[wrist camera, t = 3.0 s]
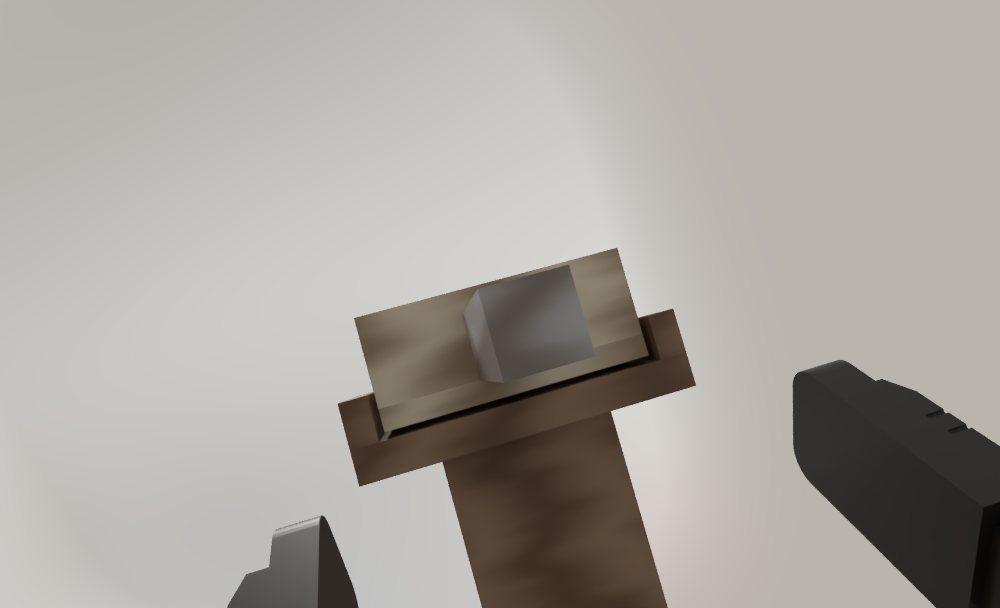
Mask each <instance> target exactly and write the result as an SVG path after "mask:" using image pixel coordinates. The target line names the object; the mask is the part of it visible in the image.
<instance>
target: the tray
mask: <svg viewBox="0 0 1000 608" xmlns="http://www.w3.org/2000/svg"><path fill="white" fill-rule="evenodd" d="M354 319H355V323H356V327H357V331H358V334H359V338H360V342H361V346H362V350H363V353H364V357H365V361H366V364H367V368H368V372H369V375H370V380H371V383H372V387H373V391H374V395H375V398H376V402H377V406H378V410H379V413H380V417H381V421H382V425H383V428H384V432H387V431H391V430H394V429H398V428H401V427H405V426H408V425H412V424H415V423H418V422H422V421H425V420H429V419H432V418H436V417H439V416H442V415H446V414H449V413H453V412H456V411H460V410H463V409H466V408H470V407H473V406H477V405H480V404H484V403H487V402H490V401H494V400H497V399H501V398H504V397H508V396H511V395H515V394H518V393H521V392H525V391H528V390H532V389H535V388H539V387H542V386H545V385H549V384H552V383H556V382H559V381H563V380H566V379H569V378H573V377H576V376H580V375H583V374H587V373H590V372H594V371H597V370H600V369H604V368H607V367H611V366H614V365H618V364H621V363H624V362H628V361H631V360H635V359H638V358H642V357H645V356H648V355H649V354H648V351H647V347H646V344H645V341H644V337H643V334H642V331H641V327H640V324H639V320H638V317H637V314H636V311H635V307H634V303H633V300H632V297H631V293H630V290H629V287H628V283H627V280H626V277H625V273H624V270H623V266H622V263H621V260H620V256H619V253H618V249H617V248H615V249H611V250H607V251H604V252H600V253H596V254H593V255H589V256H585V257H582V258H578V259H574V260H570V261H566V262H563V263H559V264H555V265H552V266H548V267H544V268H540V269H536V270H533V271H529V272H525V273H521V274H518V275H514V276H510V277H507V278H503V279H499V280H496V281H492V282H488V283H484V284H480V285H477V286H473V287H469V288H466V289H462V290H458V291H454V292H450V293H447V294H443V295H439V296H435V297H432V298H428V299H424V300H421V301H417V302H413V303H409V304H406V305H402V306H398V307H394V308H391V309H387V310H383V311H379V312H376V313H372V314H368V315H364V316H361V317H357V318H354Z"/></svg>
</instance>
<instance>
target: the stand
mask: <svg viewBox="0 0 1000 608" xmlns="http://www.w3.org/2000/svg"><path fill="white" fill-rule="evenodd" d="M638 320H639V324H640V327H641V331H642V334H643V337H644V341H645V344H646V347H647V351H648V354H649V355H648V356H645V357H642V358H638V359H635V360H631V361H628V362H624V363H621V364H618V365H614V366H611V367H607V368H604V369H600V370H597V371H594V372H590V373H587V374H583V375H580V376H576V377H573V378H569V379H566V380H563V381H559V382H556V383H552V384H549V385H545V386H542V387H539V388H535V389H532V390H528V391H525V392H521V393H518V394H515V395H511V396H508V397H504V398H501V399H497V400H494V401H490V402H487V403H484V404H480V405H477V406H473V407H470V408H466V409H463V410H460V411H456V412H453V413H449V414H446V415H442V416H439V417H436V418H432V419H429V420H425V421H422V422H418V423H415V424H412V425H408V426H405V427H401V428H398V429H394V430H391V431H387V432H384V428H383V425H382V421H381V417H380V413H379V410H378V406H377V402H376V398H375V395H374V392H372V393H368V394H365V395H361V396H358V397H355V398H352V399H349V400H347V401H344V402H341V403H338V407H339V411H340V414H341V418H342V422H343V426H344V430H345V433H346V437H347V441H348V445H349V448H350V452H351V456H352V460H353V464H354V468H355V471H356V475H357V479H358V483H359V486H363V485H366V484H369V483H373V482H376V481H380V480H383V479H386V478H389V477H393V476H396V475H400V474H403V473H406V472H409V471H413V470H416V469H420V468H423V467H426V466H429V465H433V464H436V463H440V462H443V465H444V469H445V473H446V477H447V480H448V484H449V487H450V491H451V495H452V498H453V502H454V506H455V510H456V513H457V517H458V520H459V524H460V528H461V532H462V535H463V539H464V542H465V546H466V550H467V554H468V557H469V561H470V565H471V568H472V572H473V576H474V579H475V583H476V587H477V591H478V594H479V598H480V601H481V605H482V608H668V607H667V604H666V600H665V597H664V594H663V590H662V586H661V583H660V579H659V576H658V573H657V569H656V566H655V563H654V559H653V555H652V552H651V549H650V545H649V542H648V538H647V535H646V532H645V528H644V524H643V521H642V517H641V514H640V511H639V507H638V504H637V500H636V497H635V493H634V490H633V486H632V483H631V480H630V476H629V472H628V469H627V466H626V462H625V459H624V455H623V452H622V448H621V445H620V442H619V438H618V435H617V431H616V428H615V424H614V421H613V417H612V414H611V411H613V410H616V409H619V408H623V407H626V406H629V405H633V404H636V403H639V402H643V401H646V400H649V399H653V398H656V397H659V396H663V395H666V394H669V393H673V392H676V391H679V390H683V389H686V388H689V387H692V386H696V384H695V381H694V377H693V374H692V371H691V367H690V364H689V360H688V357H687V354H686V351H685V348H684V344H683V340H682V337H681V334H680V330H679V327H678V324H677V321H676V317H675V314H674V310H673V309H670V310H667V311H663V312H659V313H655V314H651V315H647V316H643V317H640V318H638Z"/></svg>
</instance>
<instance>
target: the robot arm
mask: <svg viewBox="0 0 1000 608" xmlns="http://www.w3.org/2000/svg"><path fill="white" fill-rule="evenodd" d="M793 445H794V452H795V456H796V459H797V462H798V464H799V466H800V468H801V470H802V472H803V474H804V475H805V476H806V478H807V479H808V480H809V481H810V483H811V484H812V485H813V486H814V487H815V488H816V489H817V490H818V491H819V492H820V493H821V494H822V495H823V496H824V497H825V498H826V499H827V500H828V501H829V502H830V503H831V504H832V505H833V506H834V507H835V508H836V509H837V510H838V511H840V513H841V514H843V515H844V517H845V518H847V519H848V520H849V521H850V523H851V524H853V525H854V526H855V527H856V528H857V529H858V530H859V531H860V532H861V533H862V534H863V535H864V536H865V537H866V538H867V539H868V540H869V541H870V542H871V543H872V544H873V545H874V546H875V547H876V548H877V549H878V550H879V551H880V552H881V553H882V554H883V555H884V556H885V557H886V558H887V559H888V560H889V561H890V562H891V563H892V564H893V565H894V566H895V567H896V568H897V569H898V570H899V571H900V572H901V573H902V574H903V575H904V576H905V577H906V578H907V579H908V580H909V581H910V582H911V583H912V584H913V585H914V586H915V587H916V588H917V589H918V590H919V591H920V592H921V593H922V594H923V595H924V596H925V597H926V598H927V599H928V600H929V601H930V602H931V603H932V604H933V605H934V606H935V607H936V608H1000V446H999V445H997V444H996V443H994V442H992V441H991V440H989V439H988V438H986V437H985V436H983V435H982V434H980V433H979V432H977V431H976V430H974V429H973V428H970V429H968V428H967V426H966V424H965V423H964V422H962V421H961V420H959V419H958V418H956V417H955V416H953V415H952V414H950V413H945V412H944V410H943V409H942V408H941V407H939V406H938V405H936V404H935V403H933V402H932V401H930V400H929V399H927V398H926V397H924V396H923V395H921V394H920V393H918V392H917V391H914V390H911V389H908V388H906V387H903V386H900V385H897V384H894V383H891V382H888V381H886V380H883V379H880V380H877V381H875V380H873V379H872V378H870V377H869V376H867V375H866V374H865V373H863V372H862V371H860V370H859V369H857V368H856V367H854V366H853V365H851V364H850V363H848V362H846V361H843V360H837V361H834V362H831V363H827V364H824V365H821V366H818V367H814V368H811V369H808V370H805V371H801V372H799V373H797V374H796V375H795V377H794V380H793ZM227 608H358V603H357V599H356V595H355V592H354V588H353V585H352V582H351V580H350V578H349V575H348V572H347V570H346V568H345V565H344V562H343V559H342V557H341V554H340V552H339V549H338V547H337V544H336V542H335V539H334V537H333V534H332V532H331V529H330V526H329V524H328V522H327V520H326V519H325V517H324V516H319V517H315V518H312V519H309V520H306V521H302V522H299V523H296V524H292V525H289V526H286V527H283V528H279V529H276V530H275V531H274V533H273V538H272V546H271V556H270V565H269V568H266V569H262V570H259V571H256V572H253V573H249V574H246V576H245V577H244V579H243V581H242V583H241V584H240V586H239V588H238V590H237V591H236V593H235V594H234V596H233V598H232V599H231V601H230V603H229V605H228V607H227Z"/></svg>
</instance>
